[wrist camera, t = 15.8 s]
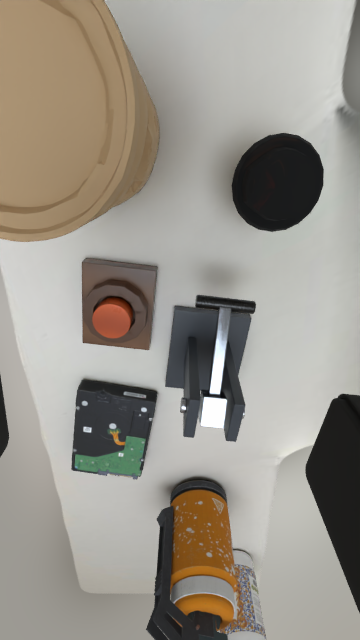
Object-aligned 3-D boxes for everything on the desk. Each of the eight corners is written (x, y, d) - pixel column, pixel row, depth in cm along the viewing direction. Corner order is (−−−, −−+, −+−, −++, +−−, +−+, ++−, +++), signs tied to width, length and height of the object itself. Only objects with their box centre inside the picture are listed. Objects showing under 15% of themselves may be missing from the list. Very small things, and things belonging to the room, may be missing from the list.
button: (96, 295, 35) (92, 301, 33) (134, 299, 35) (131, 306, 33) (96, 328, 36) (92, 336, 35) (132, 332, 37) (129, 340, 35)
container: (47, 210, 34) (-79, 249, 18) (12, 61, 29) (-214, -78, 12) (167, 201, 33) (150, 233, 17) (154, 47, 28) (112, -117, 12)
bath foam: (235, 543, 58) (258, 714, 40) (259, 560, 60) (292, 729, 42) (206, 559, 60) (216, 727, 42) (231, 574, 62) (250, 741, 44)
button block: (85, 257, 36) (76, 266, 33) (157, 266, 36) (154, 275, 33) (86, 336, 40) (78, 350, 37) (150, 343, 41) (147, 358, 38)
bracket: (175, 305, 38) (170, 365, 27) (249, 314, 39) (277, 377, 27) (165, 381, 43) (158, 460, 32) (232, 388, 43) (249, 468, 32)
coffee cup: (295, 141, 31) (341, 130, 22) (285, 217, 34) (322, 235, 25) (222, 141, 31) (238, 130, 22) (219, 216, 34) (231, 235, 25)
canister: (212, 518, 55) (225, 690, 37) (151, 501, 54) (133, 672, 35) (235, 485, 52) (262, 657, 33) (170, 466, 50) (161, 636, 32)
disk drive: (81, 376, 43) (76, 456, 49) (75, 389, 41) (70, 472, 47) (158, 388, 44) (143, 466, 50) (156, 402, 41) (141, 482, 47)
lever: (195, 294, 31) (197, 294, 29) (251, 301, 32) (258, 301, 29) (181, 414, 32) (182, 424, 30) (236, 420, 32) (241, 430, 30)
